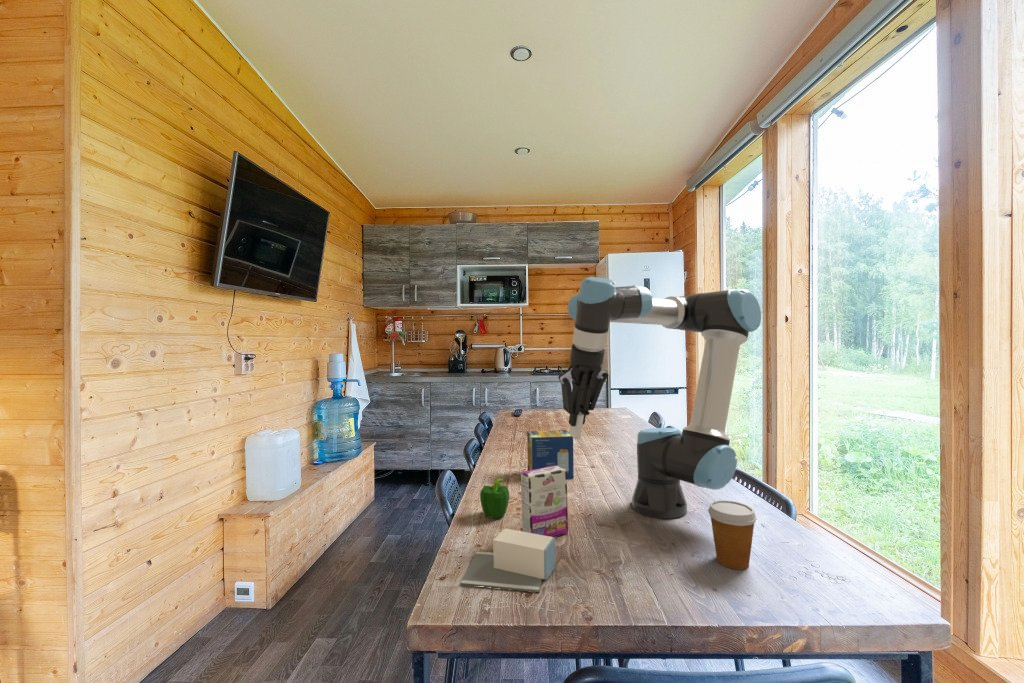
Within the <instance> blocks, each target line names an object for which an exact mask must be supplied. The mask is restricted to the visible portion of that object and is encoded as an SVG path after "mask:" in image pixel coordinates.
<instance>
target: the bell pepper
mask: <svg viewBox="0 0 1024 683" xmlns="http://www.w3.org/2000/svg"><path fill="white" fill-rule="evenodd" d="M503 480H504V479H503V478H497V479H496V480H495V481H494V482H493V485H491V486H490V485H484V486H483V487H482V488H481V491H480V493H479V498H480V504H481V508H482V511H483V515H484V516H485V517H486V518H491V519H494V520H496V519H497V520H499V519H501V518H504V516H505V515H506V512H507V510H508V505H509V501H510V491H509V488H508V486H507V485H502V484H500V483H502V482H503Z"/></svg>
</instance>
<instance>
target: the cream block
mask: <svg viewBox="0 0 1024 683" xmlns="http://www.w3.org/2000/svg"><path fill="white" fill-rule="evenodd" d="M492 542H493V544H492V546H493V552H492V553H493V554H494V568H497V569H501V570H506V571H510V572H514V573H519V574H523V575H528V576H532V577H536V578H541V579H542V580H546V581H548V578H549V577H550V575H551V574H552V572H553V570H554V569H555V567H556V566H557V564H556V563H557V562H556V561H557V557H556V556H557V555H556V553H557V551H556V550H557V548H556V546H557V544H556V537H549V536H544V535H539V534H533V533H528V532H522V530H521V531H520V530H516V529H510V528H504V529H503V530H502V531H500V533H499V534H498V535H497V536H496V537H495V538H493V541H492Z"/></svg>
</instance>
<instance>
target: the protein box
mask: <svg viewBox="0 0 1024 683" xmlns="http://www.w3.org/2000/svg"><path fill="white" fill-rule="evenodd" d="M526 432H527V433H526V438H527V439H526V440H527V441H526V442H527V444H526V446H527V471H530V470H535V469H540V468H546V467H551V466H559V467H561V468H564V469H566V473H567V480H574V479H575V476H574V474H575V471H574V469H575V468H574V465H575V464H574V438H573V437H572V436H571V435H570V434H569V431H568V430H566V429H558V430H557V429H556V430H555V429H554V430H532V431H528V430H527V431H526ZM573 478H574V479H573Z"/></svg>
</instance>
